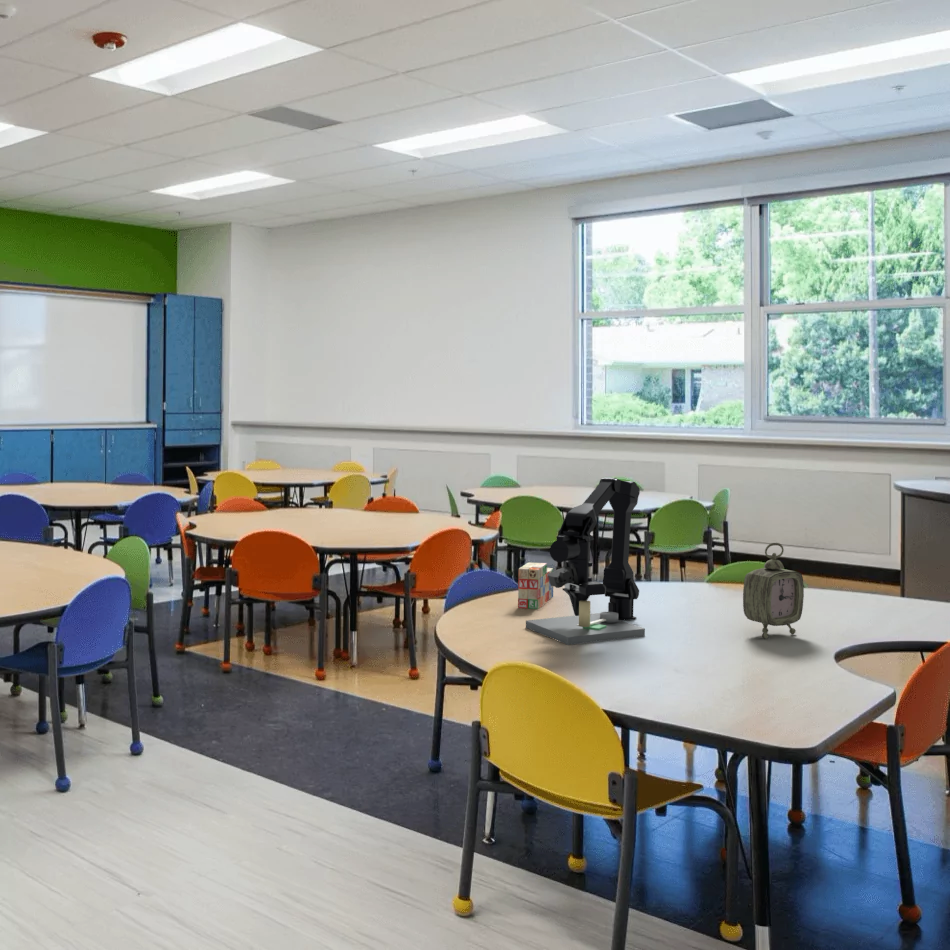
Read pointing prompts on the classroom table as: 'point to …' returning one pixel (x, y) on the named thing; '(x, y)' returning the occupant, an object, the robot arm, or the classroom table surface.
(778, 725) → the classroom table surface
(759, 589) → the tabletop clock
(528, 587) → the stack of blocks
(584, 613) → the beige and grey mallet
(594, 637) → the gauge plate
